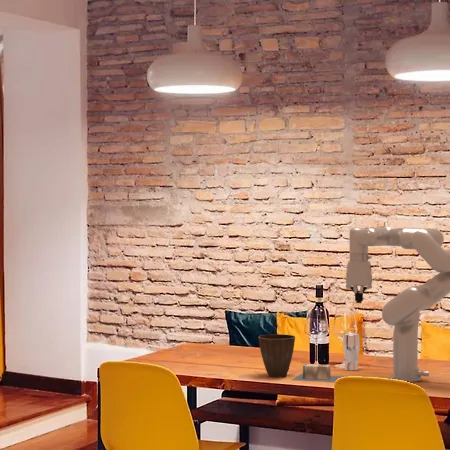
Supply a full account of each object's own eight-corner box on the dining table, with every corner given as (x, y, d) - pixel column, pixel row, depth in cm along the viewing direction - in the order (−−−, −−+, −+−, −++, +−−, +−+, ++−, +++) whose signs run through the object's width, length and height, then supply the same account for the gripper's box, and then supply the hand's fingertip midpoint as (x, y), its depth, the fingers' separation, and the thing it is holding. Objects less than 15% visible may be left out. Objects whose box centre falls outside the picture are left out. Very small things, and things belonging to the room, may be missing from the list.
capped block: (330, 365, 391) (305, 363, 395) (327, 367, 387) (302, 365, 390) (330, 377, 391) (306, 376, 395) (327, 379, 387) (302, 378, 390)
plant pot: (251, 376, 398) (251, 337, 398) (270, 371, 410) (270, 333, 410) (283, 380, 390) (283, 339, 389) (302, 374, 402) (301, 335, 402)
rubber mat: (353, 378, 393) (353, 376, 393) (346, 384, 380) (346, 382, 380) (300, 375, 400) (300, 374, 400) (291, 381, 387) (291, 380, 387)
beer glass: (346, 371, 409) (346, 335, 409) (341, 368, 416) (340, 333, 416) (362, 370, 411) (362, 334, 410) (356, 367, 418) (356, 332, 417)
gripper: (378, 257, 404) (378, 302, 404) (342, 257, 408) (342, 301, 409) (375, 258, 396) (375, 304, 397) (338, 258, 401) (339, 303, 402)
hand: (358, 302), depth 403 cm, fingers closed
